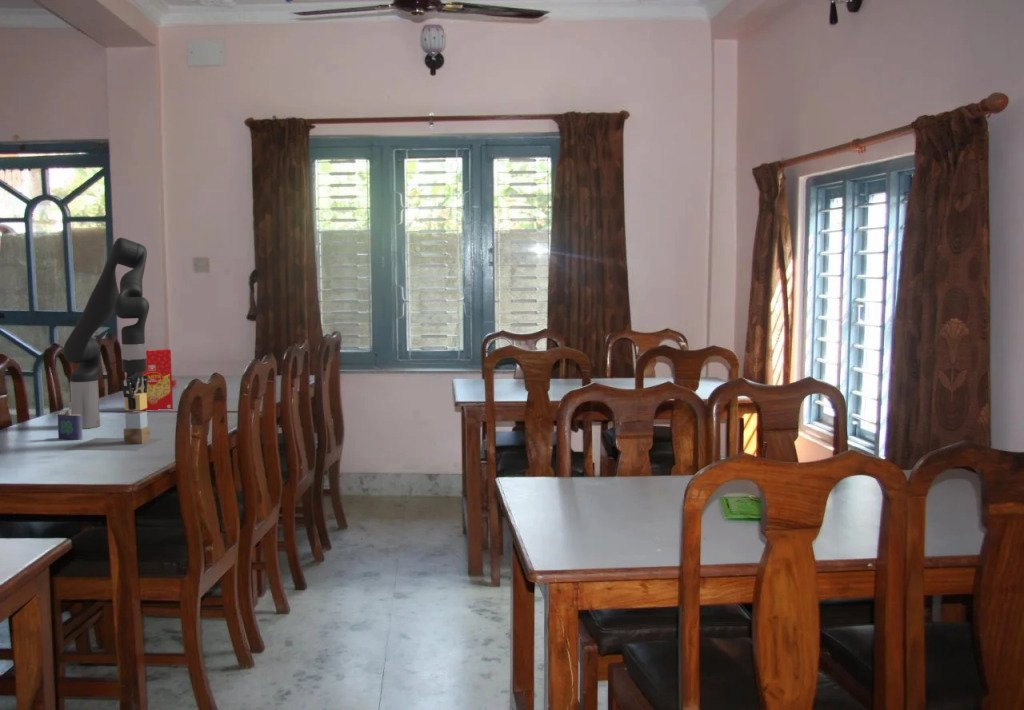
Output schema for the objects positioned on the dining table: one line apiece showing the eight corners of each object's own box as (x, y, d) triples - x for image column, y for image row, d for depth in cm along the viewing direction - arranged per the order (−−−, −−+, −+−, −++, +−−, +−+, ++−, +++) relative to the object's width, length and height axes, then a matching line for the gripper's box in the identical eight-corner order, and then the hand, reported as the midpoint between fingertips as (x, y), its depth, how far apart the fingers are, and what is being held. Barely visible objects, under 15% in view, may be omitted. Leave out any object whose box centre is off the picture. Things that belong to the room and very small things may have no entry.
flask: (84, 440, 298) (82, 409, 297) (78, 441, 295) (76, 410, 294) (62, 438, 301) (60, 407, 300) (55, 440, 298) (53, 409, 297)
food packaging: (134, 412, 356) (132, 351, 353) (133, 411, 360) (130, 350, 358) (173, 409, 363) (170, 350, 361) (170, 408, 368) (168, 349, 365)
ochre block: (125, 410, 288) (124, 395, 288) (132, 407, 293) (131, 393, 293) (140, 410, 288) (139, 395, 288) (147, 407, 293) (146, 393, 293)
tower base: (124, 444, 289) (123, 429, 288) (133, 440, 295) (132, 425, 294) (142, 444, 289) (141, 429, 288) (150, 440, 295) (149, 426, 294)
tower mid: (125, 428, 289) (125, 413, 288) (133, 426, 294) (132, 411, 293) (140, 428, 289) (140, 414, 288) (147, 426, 294) (147, 411, 293)
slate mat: (63, 450, 280) (63, 449, 280) (96, 439, 300) (95, 437, 300) (136, 451, 279) (136, 450, 279) (164, 439, 298) (164, 438, 298)
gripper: (133, 355, 296) (135, 405, 298) (112, 359, 282) (114, 411, 284) (154, 355, 296) (156, 405, 298) (134, 359, 282) (136, 411, 283)
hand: (136, 408), depth 291 cm, fingers closed on ochre block, 4 cm apart
